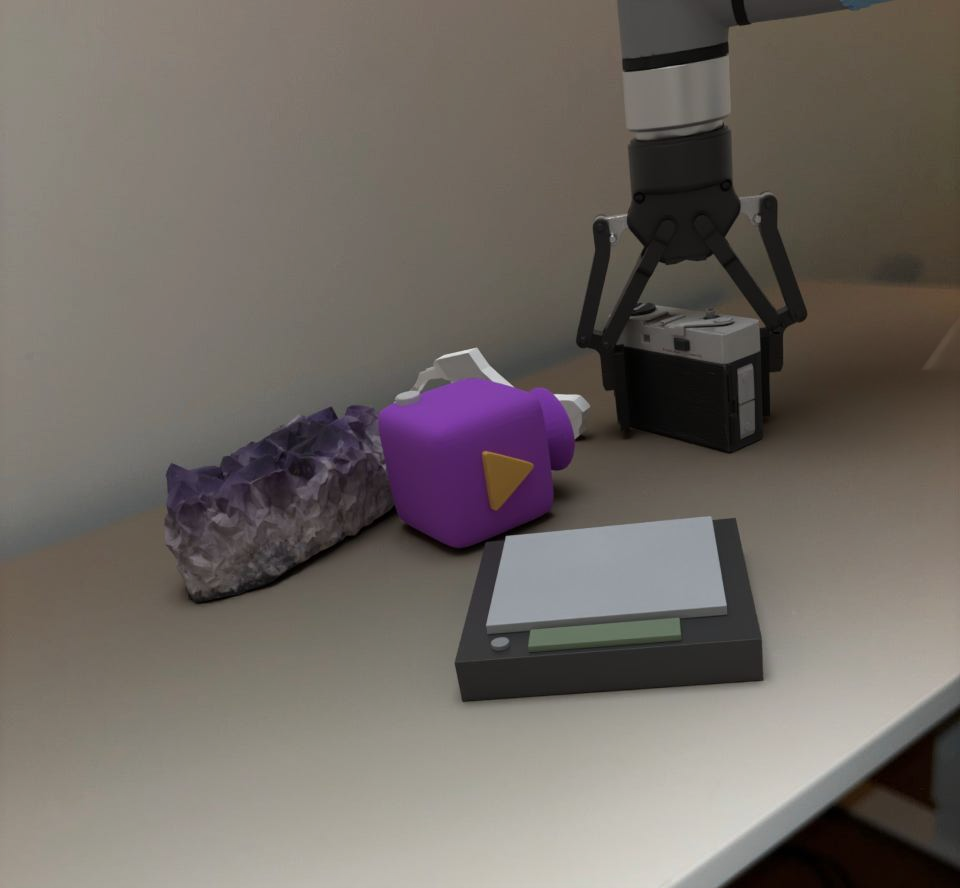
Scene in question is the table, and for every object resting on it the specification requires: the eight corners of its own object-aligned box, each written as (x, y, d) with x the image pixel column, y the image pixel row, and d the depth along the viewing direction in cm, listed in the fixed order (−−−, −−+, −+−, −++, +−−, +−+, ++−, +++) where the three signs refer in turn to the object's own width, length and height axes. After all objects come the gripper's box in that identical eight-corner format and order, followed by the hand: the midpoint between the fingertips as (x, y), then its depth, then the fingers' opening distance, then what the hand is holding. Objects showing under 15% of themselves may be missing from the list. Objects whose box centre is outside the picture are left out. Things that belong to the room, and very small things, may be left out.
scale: (737, 553, 68) (735, 508, 66) (763, 680, 55) (761, 628, 54) (491, 575, 71) (484, 533, 69) (462, 701, 58) (452, 652, 56)
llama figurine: (443, 495, 101) (592, 432, 89) (384, 387, 98) (530, 308, 86) (453, 487, 102) (601, 425, 90) (395, 381, 100) (540, 302, 88)
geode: (263, 619, 71) (202, 481, 66) (160, 613, 78) (99, 488, 74) (439, 488, 84) (398, 366, 80) (337, 493, 91) (294, 381, 87)
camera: (804, 425, 85) (798, 299, 80) (711, 462, 82) (699, 334, 77) (698, 392, 96) (687, 280, 91) (613, 424, 93) (597, 310, 88)
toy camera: (606, 491, 80) (592, 360, 75) (478, 564, 72) (453, 424, 68) (505, 469, 87) (487, 349, 82) (379, 534, 80) (350, 406, 75)
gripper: (834, 100, 79) (830, 389, 90) (526, 147, 83) (558, 418, 94) (852, 108, 73) (846, 418, 83) (518, 159, 77) (553, 448, 87)
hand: (693, 418), depth 89 cm, fingers closed on camera, 11 cm apart
